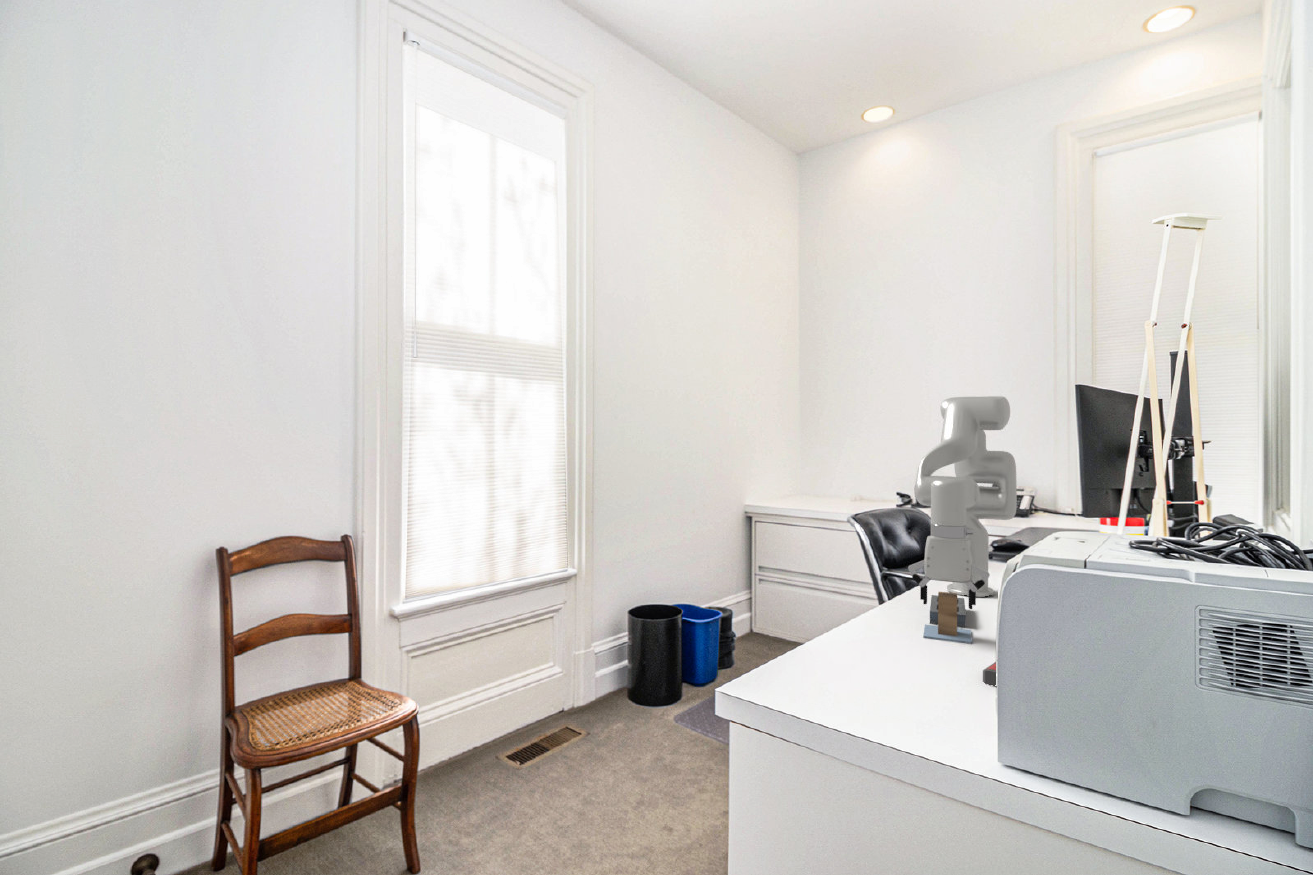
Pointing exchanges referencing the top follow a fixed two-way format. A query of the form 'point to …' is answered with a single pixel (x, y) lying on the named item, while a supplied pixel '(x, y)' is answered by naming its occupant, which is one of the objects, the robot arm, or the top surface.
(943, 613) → the plug
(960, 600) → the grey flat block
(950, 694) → the top surface
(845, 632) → the top surface
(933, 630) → the pad
